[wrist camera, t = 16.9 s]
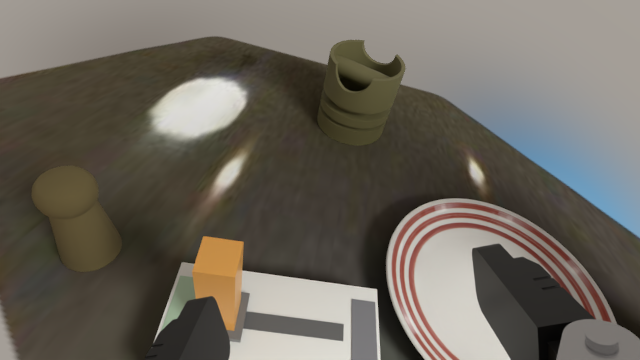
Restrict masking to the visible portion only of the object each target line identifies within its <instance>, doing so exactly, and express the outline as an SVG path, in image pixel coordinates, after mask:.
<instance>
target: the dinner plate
mask: <svg viewBox="0 0 640 360" xmlns="http://www.w3.org/2000/svg"><path fill="white" fill-rule="evenodd" d="M492 244H501V245H502V246H503V247H504V249H505V250H506V251H507V252H508V253H509V254H510V255H511V256H512V257H513V258H517V257H525V258H527V259H529V260H531V261H533V262H535V263H537V264H539V265H540V266H542V267H543V268H544V269H545V270H546V271H547V272H548V273H549V274H550V275H551V278H554V279H555V280H556V281H557V282H558V283H559V284H560V286H561V287H563V288H564V289H565V290H566V291H567V292H568V293H569V294H570V295H571V296H572V297H573V298H574V299H575V300H576V301H577V302H578V303H579V304H580V305H581V306H582V307H584V308H585V309H586V310H587V311H588V312H589V313H590V314H591V315H592V316H593V317H594V318H595V319H596V320H603V321H607V322H611V323H614V324H617V322H616V320H615V318H614V315H613V313H612V311H611V309H610V307H609V305H608V302H607V301H606V299H605V297H604V295H603V294H602V292H601V290H600V289H599V287H598V286H597V284H596V283H595V282H594V280H593V279H592V277H591V276H590V275H589V273H588V272H587V271H586V270H585V268H584V267H583V266H582V265H581V264H580V263H579V262H578V260H577V259H576V258H575V257H574V256H573V255H572V254H571V253H570V252H569V251H568V250H567V249H566V248H565V247H564V246H562V245H561V244H560V243H559V242H558V241H557V240H555V239H554V238H553V237H552V236H551V235H549V234H548V233H547V232H545V231H544V230H542V229H541V228H540V227H538V226H537V225H535V224H533V223H532V222H530V221H529V220H527V219H525V218H523V217H521V216H519V215H517V214H515V213H513V212H511V211H509V210H507V209H504V208H501V207H499V206H496V205H493V204H489V203H486V202H481V201H477V200H471V199H462V198H449V199H441V200H436V201H432V202H429V203H426V204H423V205H421V206H419V207H418V208H416V209H414V210H413V211H411V212H410V213H409V214H408V215H406V216H405V217H404V218H403V219H402V221H401V222H400V223H399V224H398V226H397V227H396V229H395V231H394V233H393V235H392V237H391V240H390V242H389V246H388V250H387V256H386V277H387V284H388V290H389V294H390V298H391V301H392V304H393V306H394V309H395V312H396V314H397V316H398V318H399V321H400V323H401V325H402V327H403V329H404V330H405V332H406V334H407V336H408V337H409V339H410V340H411V342H412V343H413V345H414V346H415V348H416V349H417V351H418V352H419V353H420V354H421V356H422V357H423V358H424V359H425V360H511V359H510V357H509V356H508V354H507V352H506V351H505V349H504V348H503V346H502V344H501V343H500V341H499V339H498V338H497V336H496V335H495V333H494V331H493V330H492V328H491V326H490V325H489V323H488V321H487V320H486V318H485V317H484V315H483V313H482V311H481V309H480V306H479V303H478V300H477V295H476V288H475V279H474V270H473V261H472V249H473V248H476V247H482V246H487V245H492Z"/></svg>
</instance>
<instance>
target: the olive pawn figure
mask: <svg viewBox="0 0 640 360" xmlns="http://www.w3.org/2000/svg"><path fill="white" fill-rule="evenodd" d="M98 189H99V187H98V184H97V182H96V180H95V178H94V177H93V175H92V174H91V173H89V172H88V171H87V170H85V169H83V168H80V167H77V166H70V165H66V166H59V167H55V168H52V169H50V170H48V171H46V172H44V173H42V174H41V175H40V176H39V177H38V178H37V179H36V181H35V182H34V184H33V186H32V192H31V195H32V200H33V202H34V204H35V206H36V208H37V209H38V210H40V211H41V212H42V213H43V214H44V215H46V216H48V217H49V220H50V224H51V227H52V231H53V234H54V238H55V241H56V245H57V248H58V252H59V256H60V258H61V261H62V263H63V264H64V265H65V266H66V267H67V268H68V269H71V270H74V271H76V272H89V271H94V270H98V269H100V268H102V267H104V266H106V265H108V264H109V263H110V262H112V261H113V260H114V259H115V258H116V257H117V255H118V254H119V253H120V250H121V247H122V238H121V236H120V234H119V232H118V231H117V229H116V228H115V226H114V224H113V223H112V221H111V220H110V218H109V217H108V215H107V214H106V212H105V211H104V209H103V207H102V206H101V204H100V203H99V201H98V200H97V199H98Z"/></svg>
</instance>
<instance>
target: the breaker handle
mask: <svg viewBox="0 0 640 360" xmlns="http://www.w3.org/2000/svg"><path fill="white" fill-rule="evenodd" d="M243 245H244V242H241V241H234V240H227V239H220V238H213V237H206V236H203V239H202V242H201V246H200V249H199V252H198V255H197V258H196V261H195V264H194V267H193V270H192V275H193V282H194V289H195V297H196V299H198V298H203V297H209V296H213V297H214V298H215V300H216V302H217V304H218V307H219V310H220V313H221V316H222V318H223V321H224V324H225V327H226V330H227V333H228V336H229V340H230V341H232V342H241V337H242V332H243V327H244V322H245V317H246V312H247V307H248V302H249V297H250V293H246V292H241V288H242V266H243Z"/></svg>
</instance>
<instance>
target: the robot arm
mask: <svg viewBox="0 0 640 360" xmlns="http://www.w3.org/2000/svg"><path fill="white" fill-rule="evenodd" d="M472 261H473V270H474V279H475V288H476V295H477V300H478V303H479V306H480V309H481V311H482V313H483V315H484V317H485V318H486V320H487V321H488V323H489V325H490V326H491V328H492V330H493V331H494V333H495V335H496V336H497V338H498V339H499V341H500V343H501V344H502V346H503V348H504V349H505V351H506V352H507V354H508V356H509V357H510V359H511V360H640V339H639V338H638V337H637V336H636V335H634V334H633V333H632V332H630V331H629V330H627V329H625V328H624V327H621V326H619V325H617V324H614V323H611V322H607V321H603V320H596V319H595V318H594V317H593V316H592V315H591V314H590V313H589V312H588V311H587V310H586V309H585V308H584V307H582V306H581V305H580V304H579V303H578V302H577V301H576V300H575V299H574V298H573V297H572V296H571V295H570V294H569V293H568V292H567V291H566V290H565V289H564V288H563V287H561V286H560V284H559V283H558V282H557V281H556V280H555V279H554V278H551V275H550V274H549V273H548V272H547V271H546V270H545V269H544V268H543V267H542V266H540V265H539V264H537V263H535V262H533V261H531V260H529V259H527V258H525V257H517V258H513V257H512V256H511V255H510V254H509V253H508V252H507V251H506V250H505V249H504V247H503V246H502V245H501V244H492V245H487V246H482V247H476V248H473V249H472ZM229 356H230V340H229V336H228V333H227V330H226V327H225V324H224V321H223V318H222V316H221V313H220V310H219V307H218V304H217V302H216V300H215V298H214V297H213V296H209V297H203V298H198V299H193V300H188V301H187V302H186V304H185V306H184V307H183V309H182V311H181V313H180V315H179V316H178V318H177V319H174V320H172V321H171V322H170V323H169V324H168V325H167V326H166V327H165V328H164V329H163V330H162V331H161V332H160V333H159V334H158V336H157V338H156V339H155V341H154V343H153V345H152V348H150V350H149V351H148V353H147V355H146V356H145V360H229Z"/></svg>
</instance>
